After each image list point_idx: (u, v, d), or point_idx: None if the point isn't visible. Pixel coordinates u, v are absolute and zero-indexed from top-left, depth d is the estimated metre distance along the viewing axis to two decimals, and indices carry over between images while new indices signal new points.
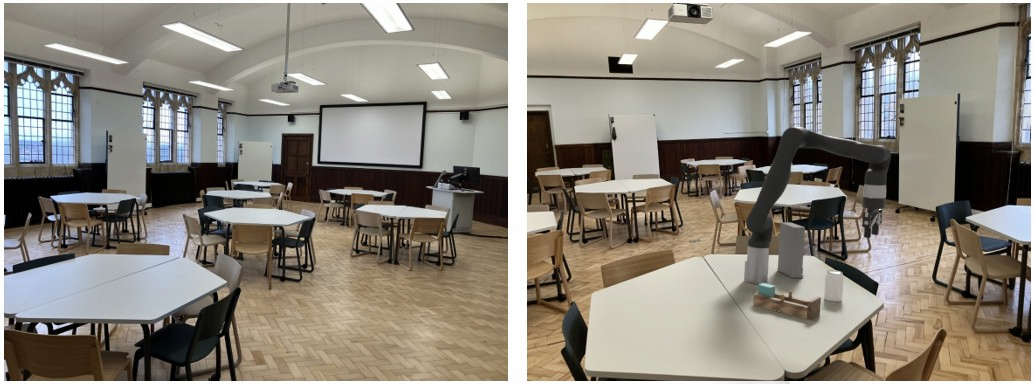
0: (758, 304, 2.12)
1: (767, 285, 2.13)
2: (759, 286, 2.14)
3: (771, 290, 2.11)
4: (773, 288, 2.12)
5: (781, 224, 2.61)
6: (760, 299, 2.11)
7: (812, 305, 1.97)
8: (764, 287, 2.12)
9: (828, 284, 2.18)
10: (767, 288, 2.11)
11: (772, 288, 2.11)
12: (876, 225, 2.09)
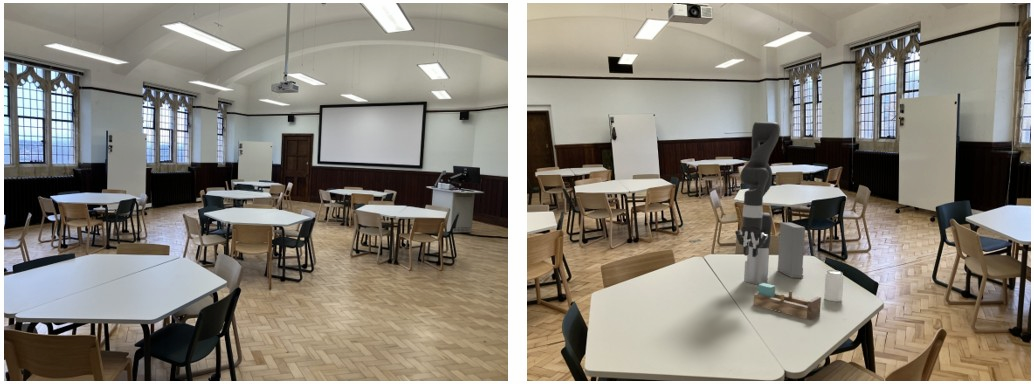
0: (758, 304, 2.12)
1: (767, 285, 2.13)
2: (759, 286, 2.14)
3: (771, 290, 2.11)
4: (773, 288, 2.12)
5: (781, 224, 2.61)
6: (760, 299, 2.11)
7: (812, 305, 1.97)
8: (764, 287, 2.12)
9: (828, 284, 2.18)
10: (767, 288, 2.11)
11: (772, 288, 2.11)
12: (747, 246, 2.19)
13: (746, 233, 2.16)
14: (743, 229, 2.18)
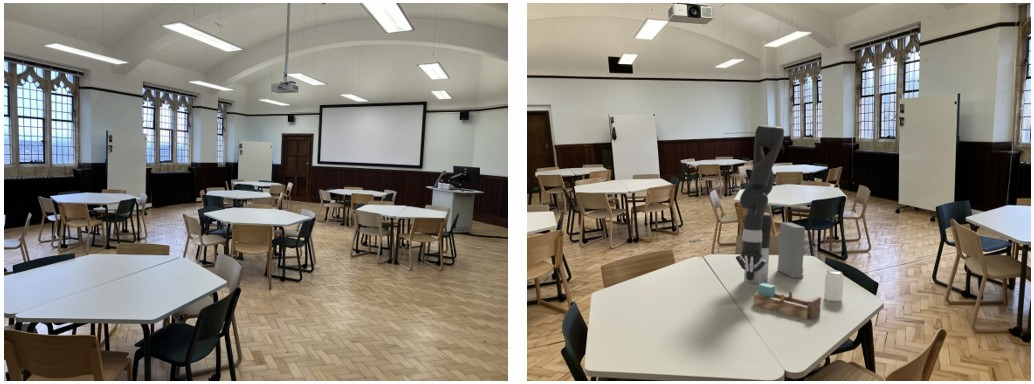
0: (758, 304, 2.12)
1: (767, 285, 2.13)
2: (759, 286, 2.14)
3: (771, 290, 2.11)
4: (773, 288, 2.12)
5: (781, 224, 2.61)
6: (760, 299, 2.11)
7: (812, 305, 1.97)
8: (764, 287, 2.12)
9: (828, 284, 2.18)
10: (767, 288, 2.11)
11: (772, 288, 2.11)
12: None
13: (746, 257, 2.17)
14: (742, 253, 2.19)
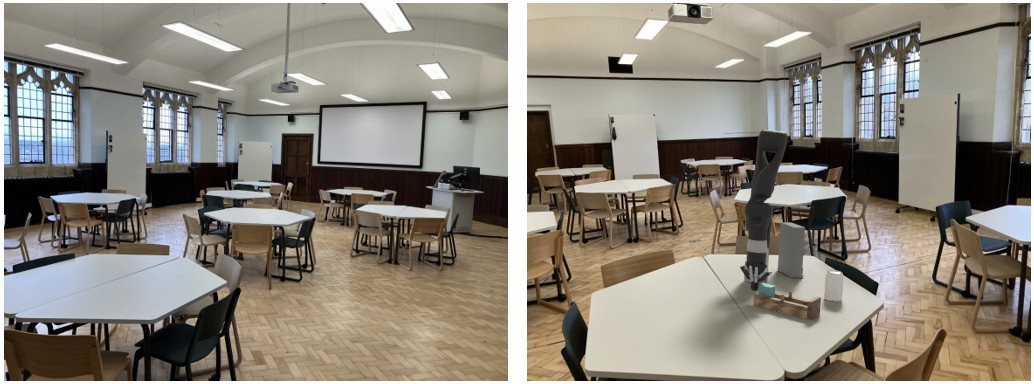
0: (758, 304, 2.12)
1: (767, 285, 2.13)
2: (759, 286, 2.14)
3: (771, 290, 2.11)
4: (773, 288, 2.12)
5: (781, 224, 2.61)
6: (760, 299, 2.11)
7: (812, 305, 1.97)
8: (764, 287, 2.12)
9: (828, 284, 2.18)
10: (767, 288, 2.11)
11: (772, 288, 2.11)
12: None
13: (750, 267, 2.16)
14: (747, 263, 2.18)
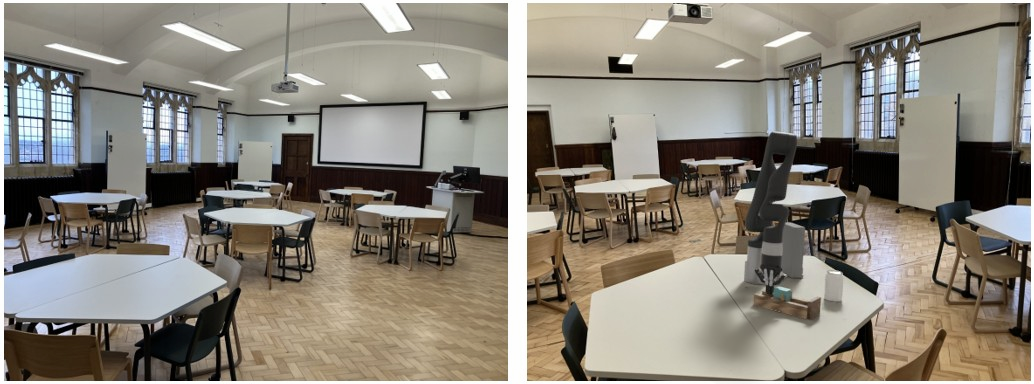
0: (758, 304, 2.12)
1: (783, 289, 2.08)
2: (774, 290, 2.09)
3: (787, 294, 2.06)
4: (789, 292, 2.07)
5: None
6: (760, 299, 2.11)
7: (812, 305, 1.97)
8: (779, 291, 2.07)
9: (828, 284, 2.18)
10: (783, 292, 2.06)
11: (788, 292, 2.06)
12: None
13: (765, 270, 2.11)
14: (762, 266, 2.13)
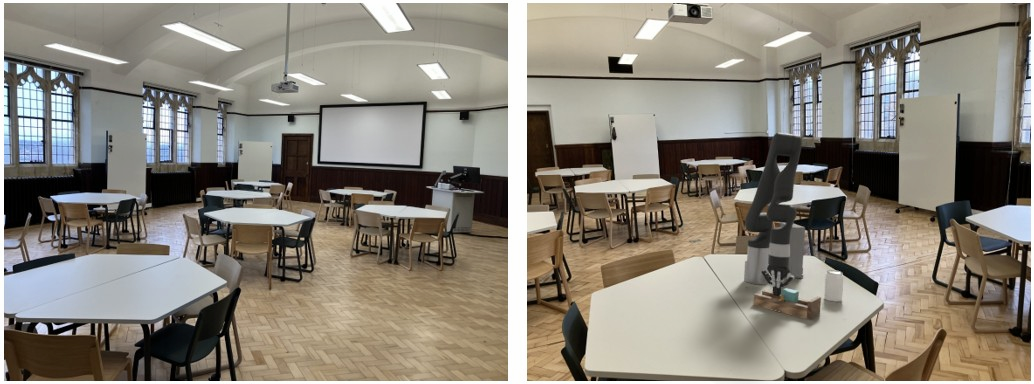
0: (758, 304, 2.12)
1: (790, 290, 2.06)
2: (782, 291, 2.07)
3: (794, 296, 2.03)
4: (797, 294, 2.05)
5: (781, 224, 2.61)
6: (760, 299, 2.11)
7: (812, 305, 1.97)
8: (787, 293, 2.05)
9: (828, 284, 2.18)
10: (790, 294, 2.04)
11: (796, 294, 2.04)
12: None
13: (773, 272, 2.09)
14: (769, 268, 2.11)
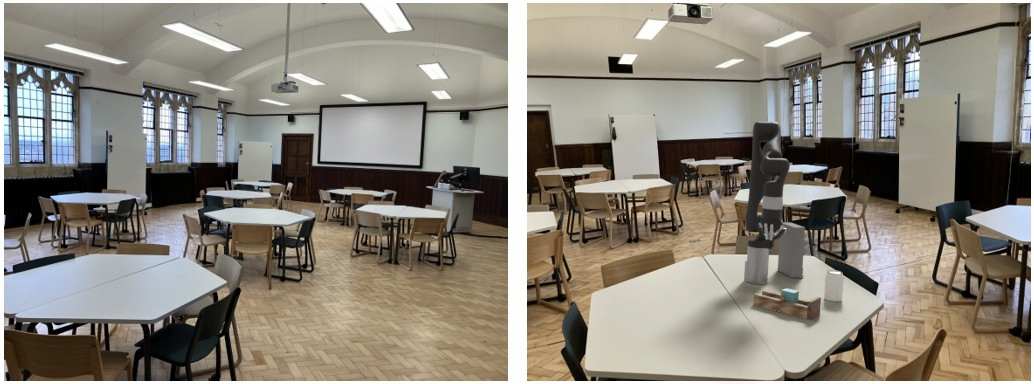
0: (758, 304, 2.12)
1: (790, 290, 2.06)
2: (782, 291, 2.07)
3: (794, 296, 2.03)
4: (797, 294, 2.05)
5: None
6: (760, 299, 2.11)
7: (812, 305, 1.97)
8: (787, 293, 2.05)
9: (828, 284, 2.18)
10: (790, 294, 2.04)
11: (796, 294, 2.04)
12: None
13: (766, 225, 2.12)
14: (762, 221, 2.14)
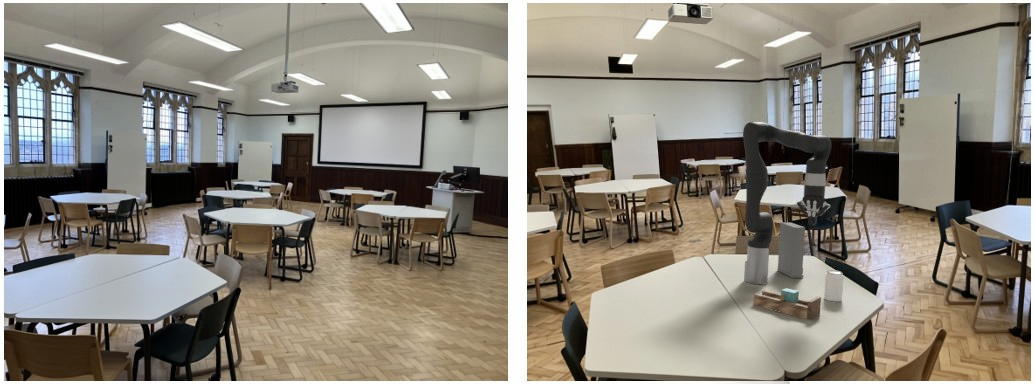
0: (758, 304, 2.12)
1: (790, 290, 2.06)
2: (782, 291, 2.07)
3: (794, 296, 2.03)
4: (797, 294, 2.05)
5: (781, 224, 2.61)
6: (760, 299, 2.11)
7: (812, 305, 1.97)
8: (787, 293, 2.05)
9: (828, 284, 2.18)
10: (790, 294, 2.04)
11: (796, 294, 2.04)
12: None
13: (808, 202, 2.15)
14: (804, 198, 2.17)
